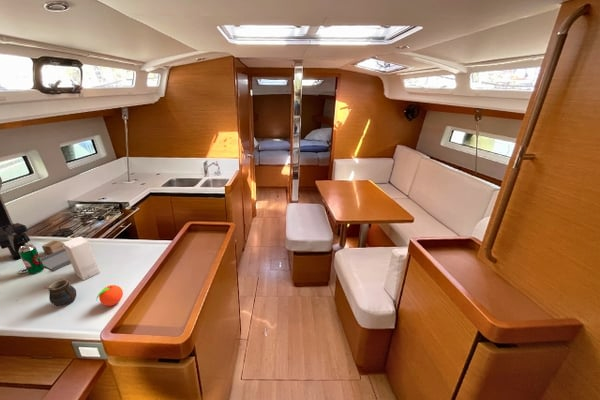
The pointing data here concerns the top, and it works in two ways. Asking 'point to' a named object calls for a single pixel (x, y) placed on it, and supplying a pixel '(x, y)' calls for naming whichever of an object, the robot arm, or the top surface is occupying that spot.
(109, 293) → the clementine
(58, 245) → the walnut block
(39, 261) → the soda can
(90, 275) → the skincare box
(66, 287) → the mate gourd
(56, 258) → the tray
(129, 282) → the top surface
